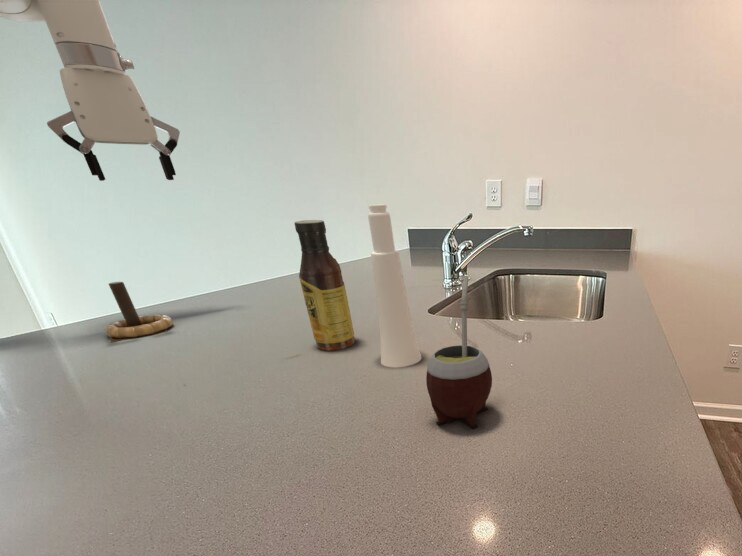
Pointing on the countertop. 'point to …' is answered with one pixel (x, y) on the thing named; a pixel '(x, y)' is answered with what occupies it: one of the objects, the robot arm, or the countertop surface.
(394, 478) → the countertop surface
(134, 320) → the peg stand
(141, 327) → the ring
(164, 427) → the countertop surface
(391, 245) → the cosmetic bottle
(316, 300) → the sauce bottle
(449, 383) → the mate gourd
